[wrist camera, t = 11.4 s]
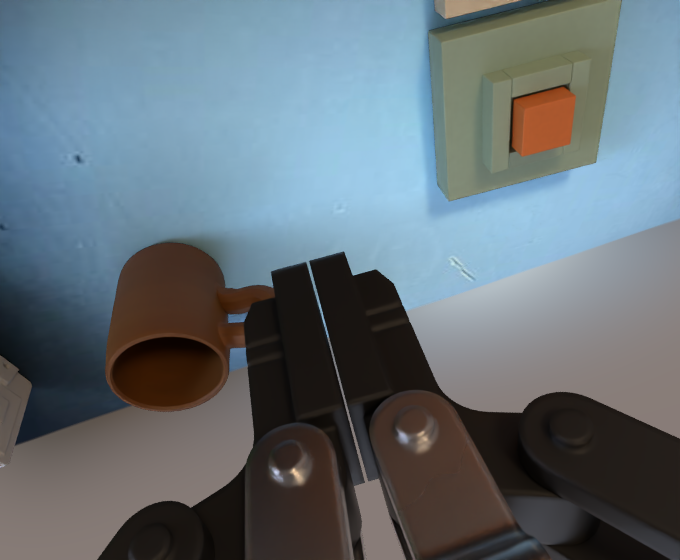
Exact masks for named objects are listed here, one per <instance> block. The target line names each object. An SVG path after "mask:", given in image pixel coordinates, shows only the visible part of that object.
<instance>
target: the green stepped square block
mask: <svg viewBox="0 0 680 560" xmlns="http://www.w3.org/2000/svg"><path fill="white" fill-rule="evenodd" d="M621 2H622V0H549V1H545V2H541V3H537V4H533V5H529V6H525V7H521V8H517V9H513V10H509V11H505V12H501V13H497V14H493V15H489V16H485V17H481V18H477V19H473V20H469V21H465V22H461V23H457V24H453V25H449V26H445V27H441V28H437V29H433V30H429V31H428V38H429V55H430V71H431V88H432V104H433V120H434V137H435V153H436V169H437V185H438V186H439V188H440V189H441V191H442V192H443V194H444V195H445V197H446V198H447V200H448V201H452V200H456V199H460V198H464V197H468V196H471V195H475V194H479V193H483V192H487V191H490V190H494V189H498V188H502V187H506V186H509V185H513V184H517V183H521V182H524V181H528V180H532V179H536V178H540V177H543V176H547V175H551V174H555V173H559V172H562V171H566V170H570V169H574V168H578V167H581V166H585V165H589V164H593V163H596V160H597V154H598V147H599V141H600V135H601V128H602V122H603V116H604V110H605V103H606V97H607V91H608V84H609V78H610V72H611V65H612V59H613V53H614V46H615V40H616V34H617V28H618V21H619V15H620V9H621ZM559 87H564V88H566V89H567V90H569V91H570V92H571V93H573V94H574V95H576V101H575V109H574V117H573V126H572V134H571V142H570V144H569V145H565V146H562V147H558V148H554V149H550V150H546V151H543V152H539V153H535V154H531V155H527V156H523V157H522V156H521V155H520V154H519V153H518V152H517V151H516V150H515V149H514V148H513V147H512V123H513V100H514V99H517V98H521V97H524V96H528V95H532V94H536V93H540V92H544V91H548V90H552V89H556V88H559Z"/></svg>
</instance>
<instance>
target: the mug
mask: <svg viewBox="0 0 680 560" xmlns="http://www.w3.org/2000/svg"><path fill="white" fill-rule="evenodd" d="M273 297H275V293H274V288H272V287H268V286H265V285H252V286H247V287H243V288H239V289H233V288H225V280H224V276H223V273H222V271H221V269H220V267H219V266H218V264H217V263H216V262H215V260H214V259H213V258H212V257H210V256H209V255H208V254H206V253H205V252H203V251H202V250H200V249H198V248H196V247H193V246H190V245H186V244H181V243H161V244H156V245H152V246H149V247H147V248H145V249H143V250H141V251H139V252H137V253H136V254H135V255H133V256H132V257H131V258H130V259H129V260H128V261H127V263H126V264H125V265H124V267H123V269H122V271H121V274H120V277H119V280H118V285H117V291H116V296H115V301H114V306H113V312H112V318H111V324H110V330H109V335H108V341H107V350H106V368H105V374H106V379H107V382H108V384H109V386H110V388H111V390H112V391H113V392H114V393H115V394H116V395H117V396H118V397H119V398H120V399H122V400H123V401H125V402H126V403H128V404H130V405H133V406H135V407H138V408H141V409H145V410H150V411H158V412H159V411H160V412H170V411H171V412H172V411H180V410H185V409H189V408H193V407H196V406H198V405H201V404H203V403H205V402H206V401H208V400H210V399H211V398H212V397H214V396H215V395H216V394H217V393H218V392H219V391H220V390H221V389H222V387H223V386H224V385H225V383H226V381H227V378H228V375H229V358H230V348H245V347H246V346H245V336H244V326H243V324H244V322H239V323H228V314H242V313H246V312H248V311H249V309H250V306H251V304H252V303H254V302H258V301H262V300H265V299H269V298H273Z"/></svg>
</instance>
